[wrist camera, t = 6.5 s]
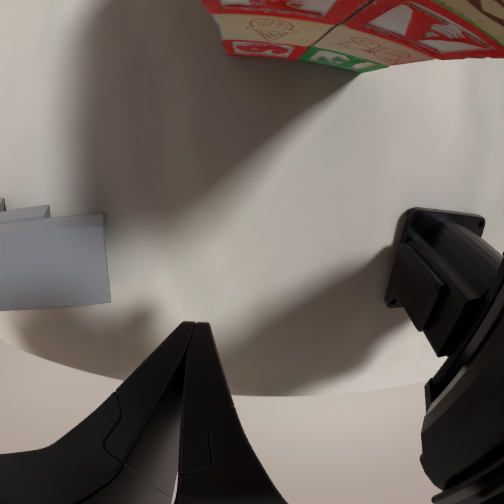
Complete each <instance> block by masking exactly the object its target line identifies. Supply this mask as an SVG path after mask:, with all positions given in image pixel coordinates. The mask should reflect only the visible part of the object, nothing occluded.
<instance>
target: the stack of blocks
mask: <svg viewBox="0 0 504 504" xmlns="http://www.w3.org/2000/svg"><path fill="white" fill-rule="evenodd" d="M201 1H202V3H203V4H204V5H205V8H206V10H207V11H208V12H209V13H211V16H212V18H213V20H214V22H215V23H216V25H217V28H218V30H219V33H220V37H221V41H222V43H223V45H224V47H225V49H226V52H227V54H228V55H239V56H256V57H268V58H278V59H287V60H301V61H308V62H314V63H319V64H324V65H329V66H334V67H338V68H343V69H347V70H351V71H355V72H358V73H364V72H369V71H373V70H379V69H382V68H387V67H389V66H392V65H399V64H406V63H413V62H420V61H427V60H433V59H440V60H452V59H465V58H486V57H490V58H504V0H201Z"/></svg>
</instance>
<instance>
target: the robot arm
mask: <svg viewBox="0 0 504 504" xmlns="http://www.w3.org/2000/svg"><path fill="white" fill-rule="evenodd" d="M416 215H418V218H417V219H416V220H415V216H416ZM484 227H485V219H484V218H483V217H482V216H480V215H477V214H470V213H462V212H455V211H446V210H438V209H429V208H420V207H414V208H412V209H411V210H410V211H409V213H408V216H407V220H406V225H405V229H404V233H403V237H402V241H401V245H400V246H399V249H398V253H397V256H396V260H395V263H394V267H393V270H392V274H391V277H390V280H389V286H388V289H387V292H386V295H385V299H384V301H385V303H386V305H387V307H389V308H398V307H404V309H405V311H406V312H407V314H408V316H409V317H410V319H411V321H412V322H413V324H414V326H415V327H416V329H417V330H418V331H419V332H421V331H423V332H424V334H425V336H426V337H427V339H428V341H429V343H430V344H431V346H432V348H433V350H434V351H435V353H436V355H437V357H443V356H447V357H448V358H447V359H446V361H445V362H444V363H443V365H442V366H441V368H440V369H439V370H438V371H437V373H436V374H435V375H434V377H433V378H431V379H429V381H428V382H427V383H426V385H425V401H426V415H425V417H424V421H423V426H422V431H421V440H422V452H423V453H422V454H421V456H420V462H421V464H422V467H423V469H424V472H425V474H426V475H427V476H428V477H429V479H430V480H431V481H432V483H433V484H434V485H435V486H436V487H438V488H440V489H441V490H442V491H443V492H441V493H439V494H437V495H435V496H433V497H432V503H434V504H504V257H503V256H504V252H503V256H502V255H501V254H500V253H499V252H498V251H497V250H495V249H494V248H493V247H492V246H491V245H489V244H488V243H487V242H486V241H485V240H483V239H482V238H481V236H482V233H483V230H484ZM392 299H393V300H392ZM391 300H392V301H391ZM177 471H178V475H179V476H178V485H177V493H176V498H175V502H174V504H288V503H287V502H286V501H285V499H284V498H283V497H282V495H281V494H280V493H279V491H278V490H277V489H276V487H275V486H274V484H273V482H272V481H271V479H270V478H269V476H268V474H267V473H266V471H265V469H264V468H263V466H262V464H261V463H260V461H259V459H258V458H257V456H256V454H255V452H254V451H253V449H252V447H251V445H250V443H249V441H248V439H247V437H246V435H245V433H244V431H243V428H242V426H241V423H240V420H239V418H238V415H237V412H236V409H235V407H234V403H233V400H232V397H231V394H230V391H229V388H228V384H227V381H226V378H225V375H224V371H223V368H222V365H221V361H220V358H219V355H218V351H217V348H216V344H215V341H214V337H213V334H212V330H211V326H210V324H209V323H208V322H197V323H196V322H192V321H183V322H182V323H181V324H180V325H179V326H178V327H177V328H176V329H175V330H174V331H173V332H172V333H171V334H170V335H169V336H168V337H167V338H166V339H165V340H164V341H163V342H162V343H161V344H160V345H159V346H158V347H157V348H156V349H155V350H154V351H153V352H152V353H151V354H150V355H149V356H148V358H147V359H146V360H145V361H144V362H143V363H142V364H141V365H140V366H139V367H138V368H137V369H136V370H135V371H134V372H133V373H132V374H131V375H130V376H129V377H128V378H127V379H126V380H125V381H124V382H123V383H122V384H121V385H120V386H119V387H118V388H117V389H116V392H113V393H112V394H111V395H110V397H108V398H107V400H105V402H103V403H102V404H101V405H100V406H99V407H98V408H97V409H96V410H95V411H94V412H93V413H91V415H89V416H88V417H87V418H85V419H84V420H83V421H82V422H81V423H79V424H78V425H77V426H76V427H74V428H73V429H72V430H70V431H69V432H68V433H67V434H65V435H64V436H63V437H62V438H60V439H59V440H58V441H56V442H55V443H53V444H52V445H50V446H47V447H45V448H42V449H38V450H32V451H25V452H18V453H8V454H0V504H171V501H172V496H173V491H174V485H175V480H176V476H177Z"/></svg>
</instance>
